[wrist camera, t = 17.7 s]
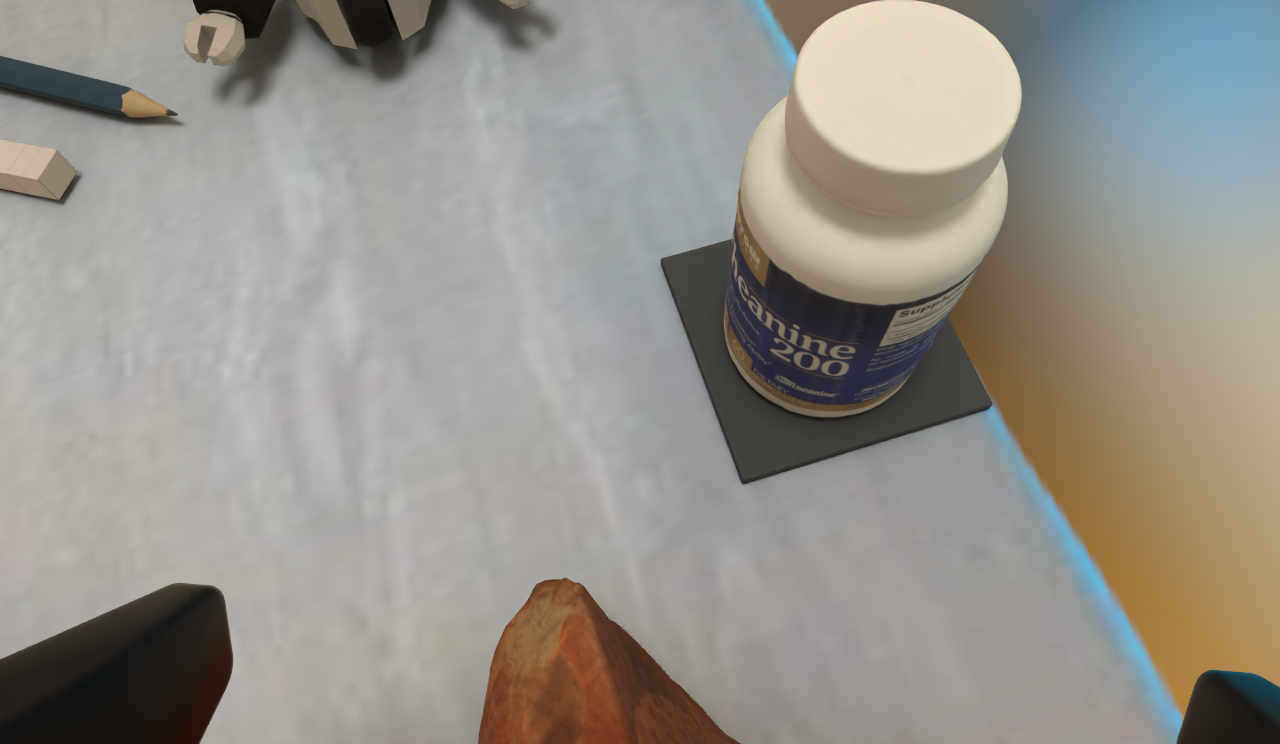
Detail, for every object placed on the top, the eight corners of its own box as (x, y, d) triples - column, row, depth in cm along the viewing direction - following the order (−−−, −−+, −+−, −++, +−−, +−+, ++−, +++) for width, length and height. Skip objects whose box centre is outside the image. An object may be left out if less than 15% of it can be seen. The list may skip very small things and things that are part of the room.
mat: (989, 408, 24) (993, 404, 23) (742, 484, 23) (743, 480, 23) (884, 201, 26) (886, 196, 26) (660, 263, 26) (660, 258, 26)
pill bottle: (681, 320, 25) (690, 64, 16) (823, 218, 26) (904, -72, 17) (815, 464, 23) (910, 265, 14) (960, 346, 24) (1130, 95, 15)
